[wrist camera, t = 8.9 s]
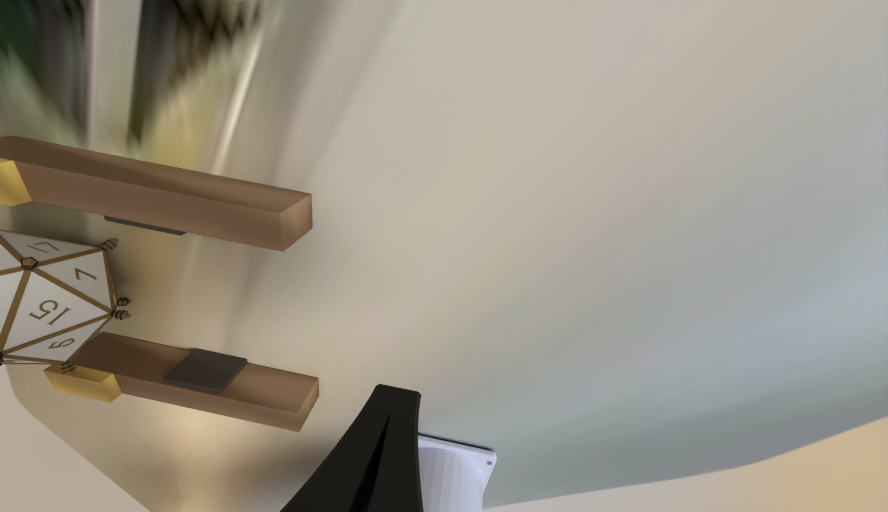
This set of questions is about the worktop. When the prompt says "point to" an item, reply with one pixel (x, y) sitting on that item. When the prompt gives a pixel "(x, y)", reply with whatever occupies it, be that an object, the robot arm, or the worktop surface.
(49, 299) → the game die
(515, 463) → the worktop surface
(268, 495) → the worktop surface
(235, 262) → the worktop surface
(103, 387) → the twin wooden rails
